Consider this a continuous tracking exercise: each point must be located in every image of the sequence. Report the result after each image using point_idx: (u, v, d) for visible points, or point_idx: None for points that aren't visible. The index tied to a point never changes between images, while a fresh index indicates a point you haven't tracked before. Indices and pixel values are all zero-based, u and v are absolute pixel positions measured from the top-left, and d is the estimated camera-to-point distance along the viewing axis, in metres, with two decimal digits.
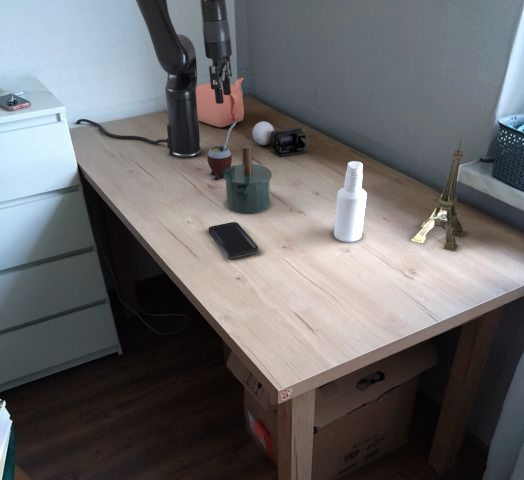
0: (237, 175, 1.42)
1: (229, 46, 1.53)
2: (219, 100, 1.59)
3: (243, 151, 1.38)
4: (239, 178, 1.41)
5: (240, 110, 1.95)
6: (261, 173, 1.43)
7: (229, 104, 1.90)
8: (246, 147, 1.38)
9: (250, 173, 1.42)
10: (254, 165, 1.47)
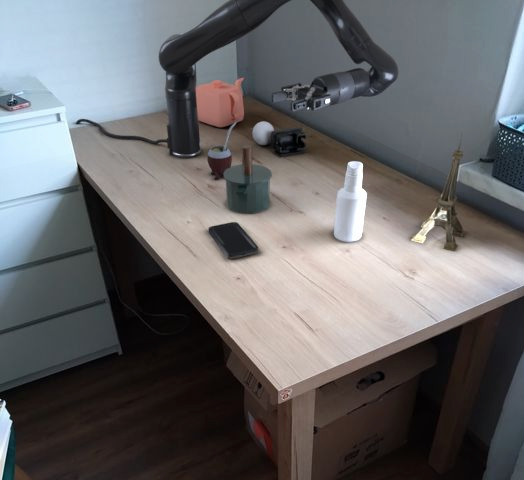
0: (237, 175, 1.42)
1: (327, 106, 1.45)
2: (297, 107, 1.35)
3: (243, 151, 1.38)
4: (239, 178, 1.41)
5: (240, 110, 1.95)
6: (261, 173, 1.43)
7: (229, 104, 1.90)
8: (246, 147, 1.38)
9: (250, 173, 1.42)
10: (254, 165, 1.47)
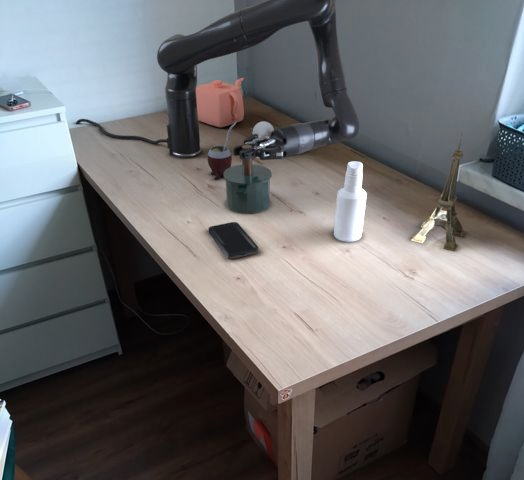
0: (237, 175, 1.42)
1: None
2: (245, 157, 1.37)
3: None
4: (239, 178, 1.41)
5: (240, 110, 1.95)
6: (261, 173, 1.43)
7: (229, 104, 1.90)
8: (246, 147, 1.38)
9: (250, 173, 1.42)
10: (254, 165, 1.47)
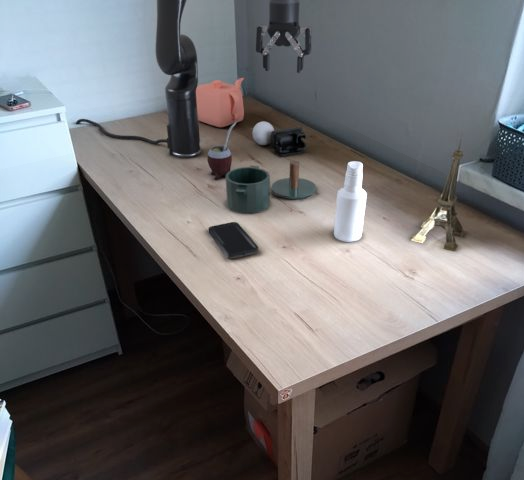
0: (284, 188, 1.53)
1: None
2: (302, 67, 1.44)
3: (291, 167, 1.49)
4: (287, 191, 1.52)
5: (240, 110, 1.95)
6: (306, 186, 1.54)
7: (229, 104, 1.90)
8: (294, 163, 1.49)
9: (296, 187, 1.53)
10: (299, 179, 1.58)
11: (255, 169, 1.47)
